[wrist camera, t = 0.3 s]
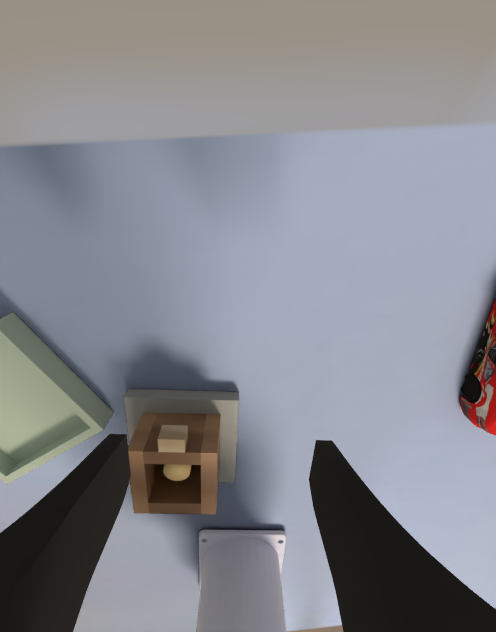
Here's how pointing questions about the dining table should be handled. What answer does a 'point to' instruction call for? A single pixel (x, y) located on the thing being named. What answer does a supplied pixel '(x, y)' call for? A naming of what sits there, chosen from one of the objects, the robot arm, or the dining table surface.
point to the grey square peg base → (189, 404)
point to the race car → (482, 381)
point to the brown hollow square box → (175, 448)
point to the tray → (40, 402)
